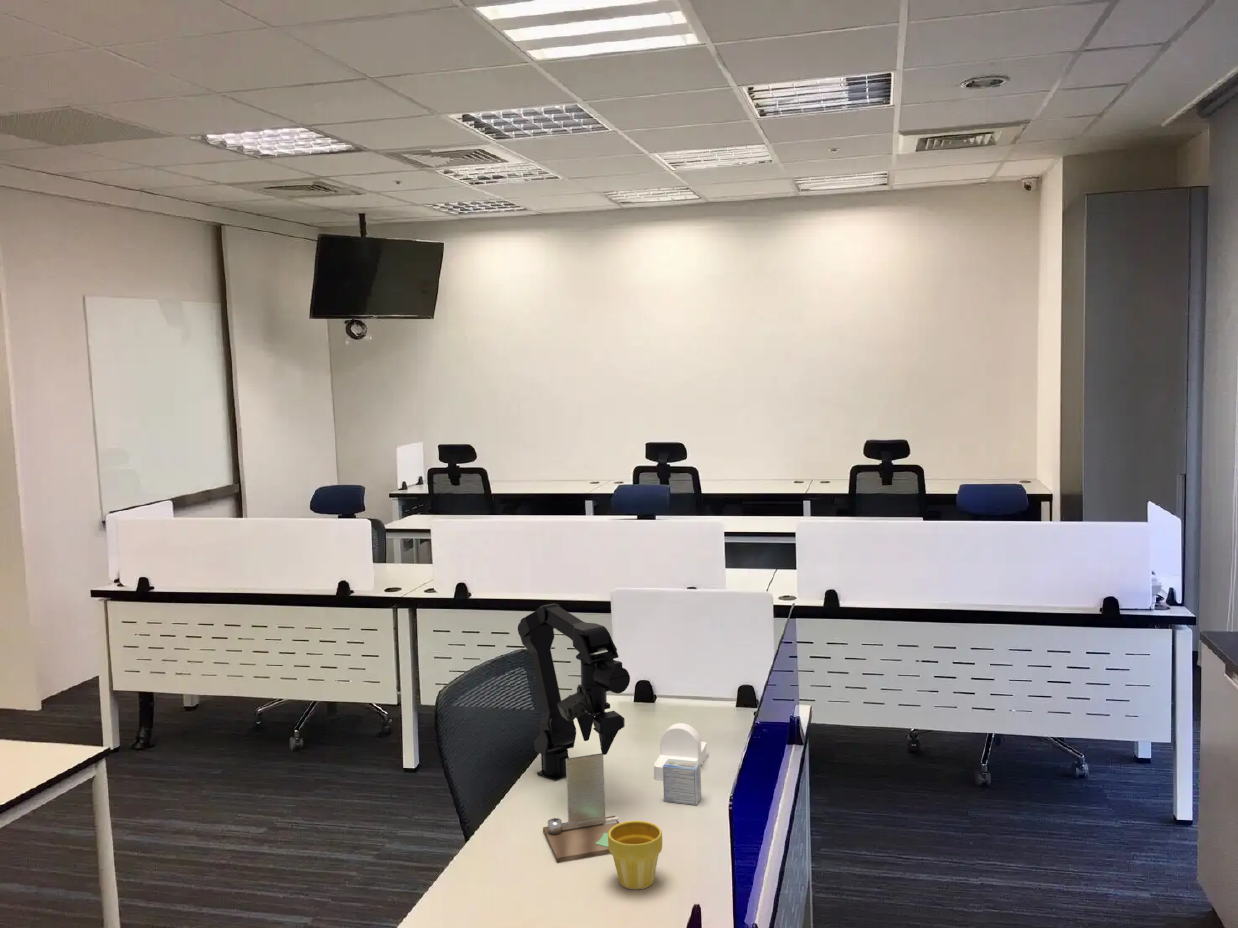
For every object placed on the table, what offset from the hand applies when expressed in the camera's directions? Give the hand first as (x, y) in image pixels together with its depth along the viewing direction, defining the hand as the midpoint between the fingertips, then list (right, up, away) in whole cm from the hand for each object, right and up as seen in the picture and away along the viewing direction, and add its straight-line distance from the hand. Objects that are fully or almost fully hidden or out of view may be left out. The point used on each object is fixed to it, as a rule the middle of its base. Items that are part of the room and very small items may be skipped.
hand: (595, 747), depth 219 cm
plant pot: (+9, -15, -36) cm, 40 cm away
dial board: (-1, -14, -19) cm, 23 cm away
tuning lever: (-2, -12, -15) cm, 20 cm away
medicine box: (+20, -12, -1) cm, 23 cm away
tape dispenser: (+21, -11, +17) cm, 29 cm away
